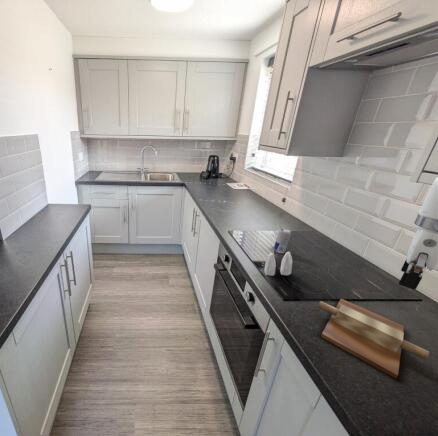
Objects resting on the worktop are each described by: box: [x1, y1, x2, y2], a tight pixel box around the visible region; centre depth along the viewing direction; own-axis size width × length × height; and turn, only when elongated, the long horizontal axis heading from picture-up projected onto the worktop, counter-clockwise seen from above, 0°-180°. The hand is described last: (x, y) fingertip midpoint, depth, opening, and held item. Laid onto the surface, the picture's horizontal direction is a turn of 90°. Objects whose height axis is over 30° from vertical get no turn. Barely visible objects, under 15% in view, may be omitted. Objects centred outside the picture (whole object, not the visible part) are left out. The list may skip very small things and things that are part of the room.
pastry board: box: [320, 298, 405, 379], centre depth 70 cm, size 24×16×2 cm, turn 131°
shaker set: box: [263, 251, 293, 277], centre depth 97 cm, size 12×4×11 cm, turn 89°
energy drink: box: [273, 227, 292, 254], centre depth 115 cm, size 5×5×12 cm
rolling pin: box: [317, 300, 430, 360], centre depth 68 cm, size 24×4×4 cm, turn 41°
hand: (407, 279), depth 65 cm, fingers open, 9 cm apart
